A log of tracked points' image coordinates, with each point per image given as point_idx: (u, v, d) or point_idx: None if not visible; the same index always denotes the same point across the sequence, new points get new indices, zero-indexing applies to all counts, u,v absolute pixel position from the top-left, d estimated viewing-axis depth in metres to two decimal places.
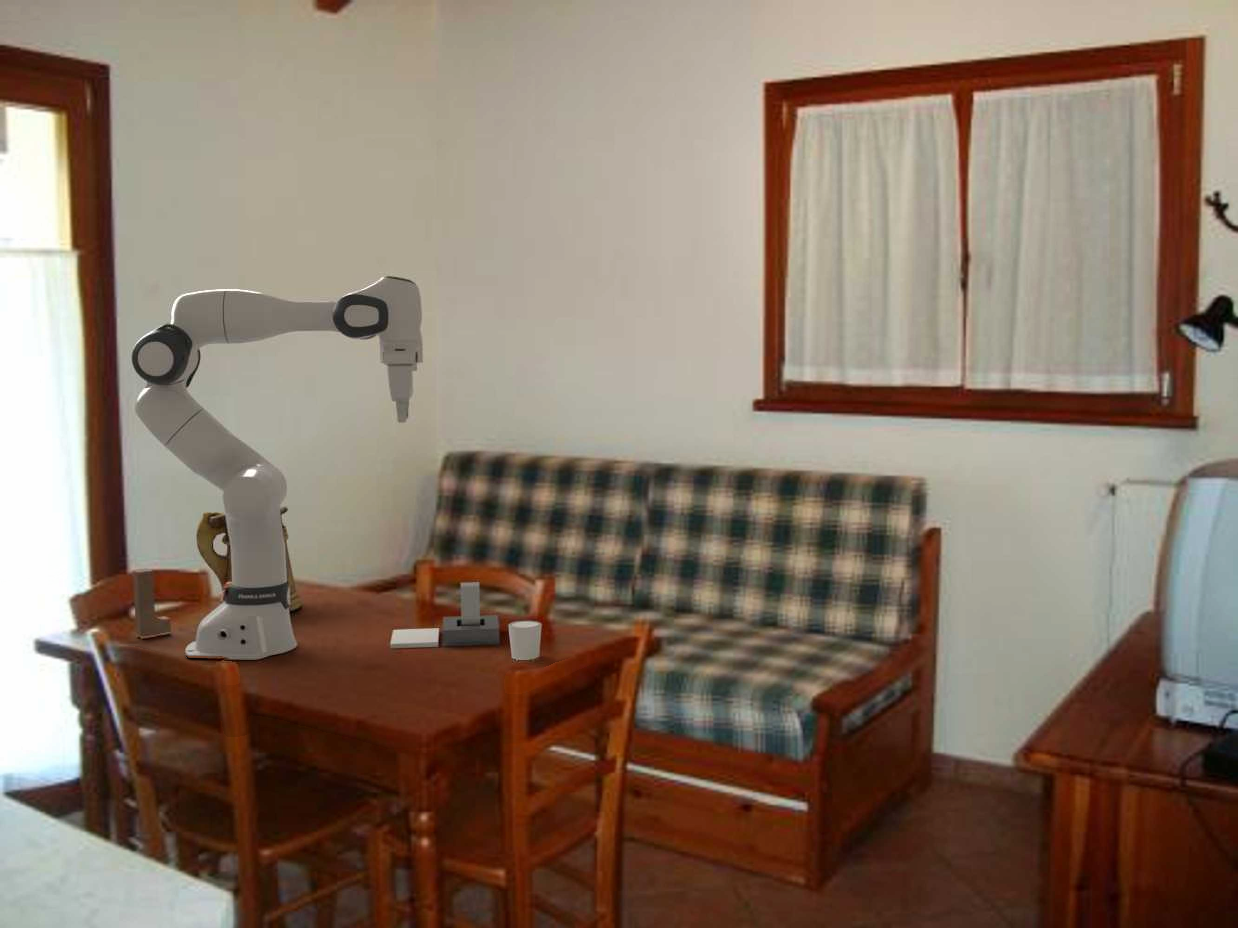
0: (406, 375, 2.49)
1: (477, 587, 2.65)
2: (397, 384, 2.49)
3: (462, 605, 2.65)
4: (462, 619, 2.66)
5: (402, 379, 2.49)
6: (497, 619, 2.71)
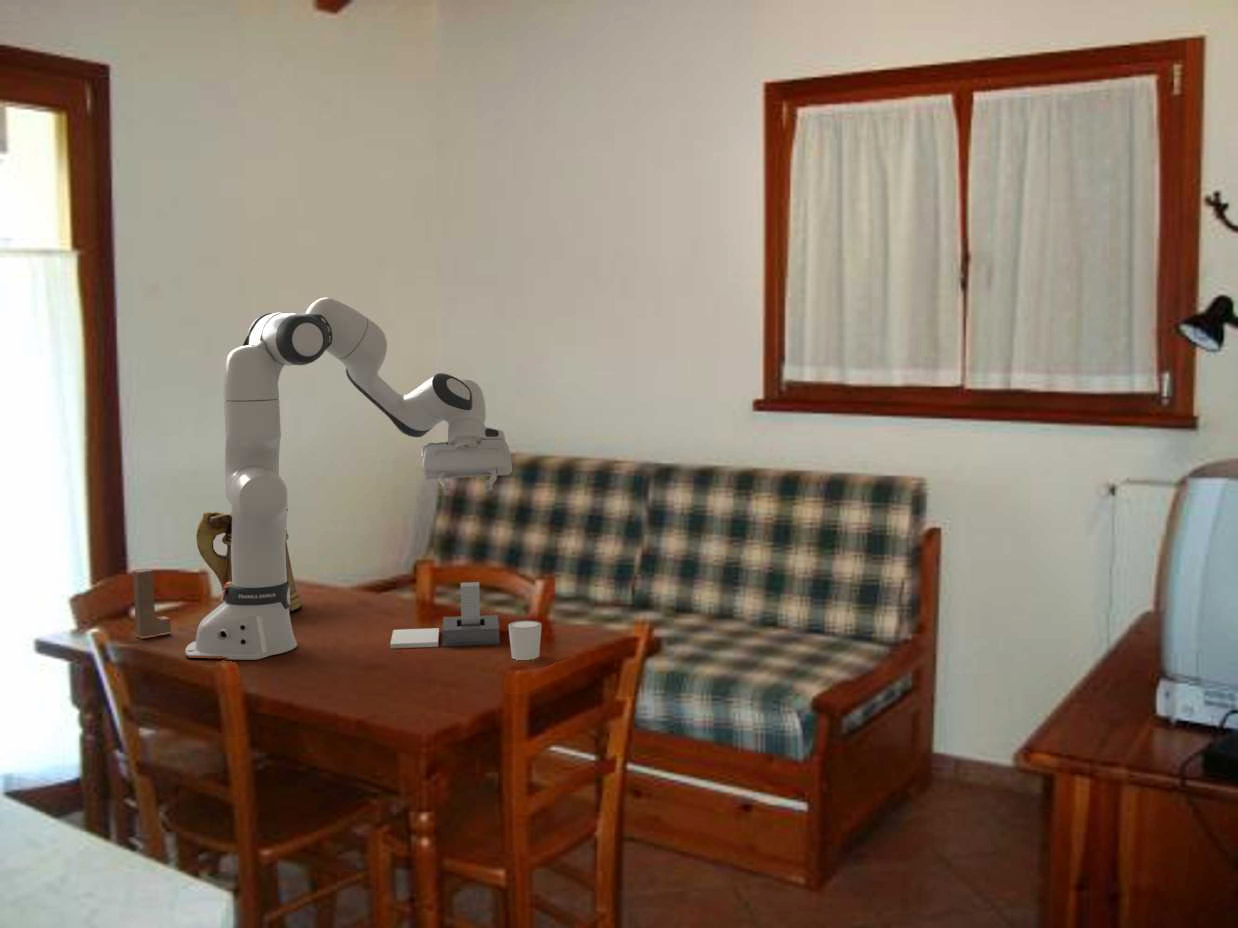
0: None
1: (477, 587, 2.65)
2: None
3: (462, 605, 2.65)
4: (462, 619, 2.66)
5: None
6: (497, 619, 2.71)
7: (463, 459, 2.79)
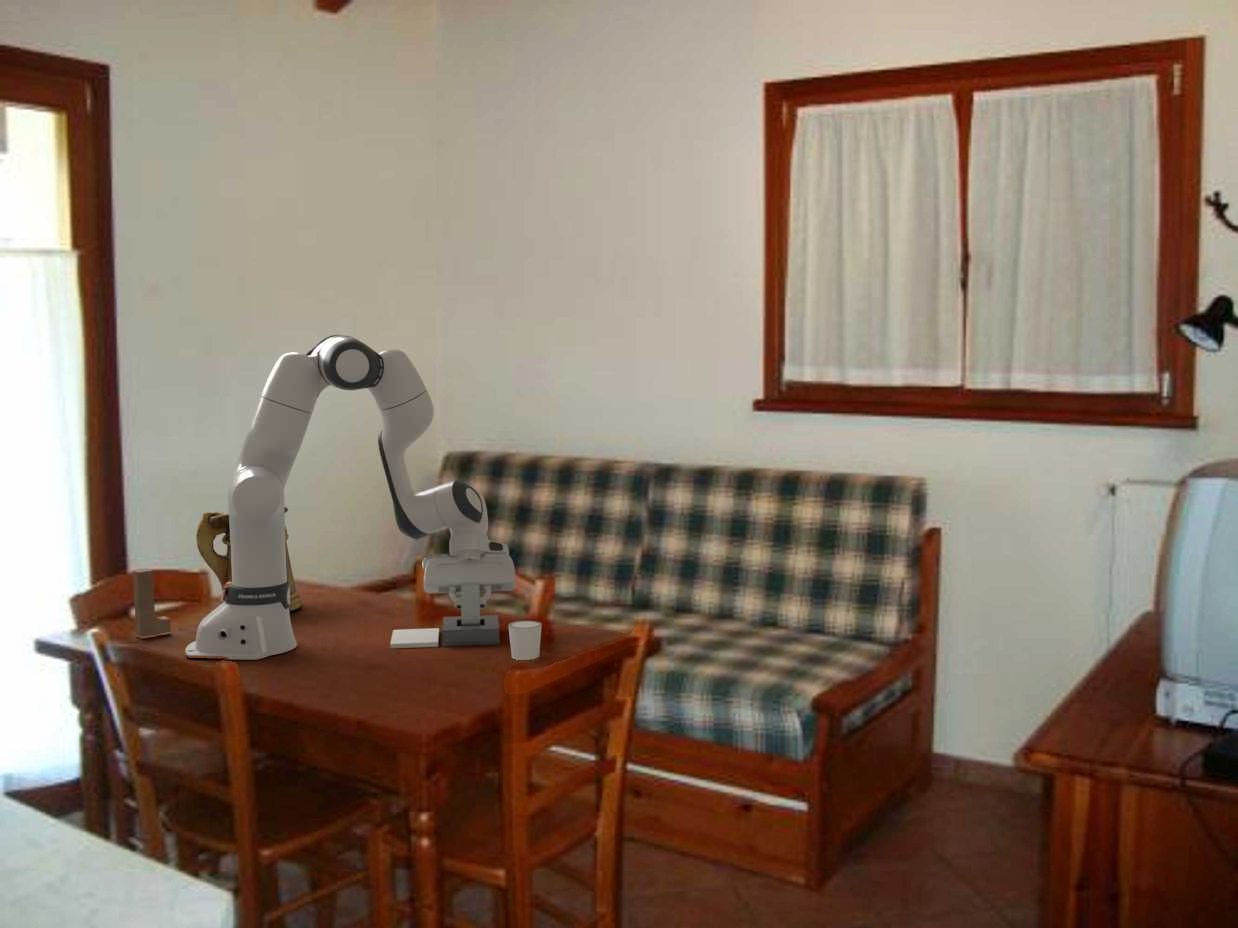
0: None
1: (477, 587, 2.65)
2: None
3: (462, 605, 2.65)
4: (462, 619, 2.66)
5: None
6: (497, 619, 2.71)
7: (466, 573, 2.70)
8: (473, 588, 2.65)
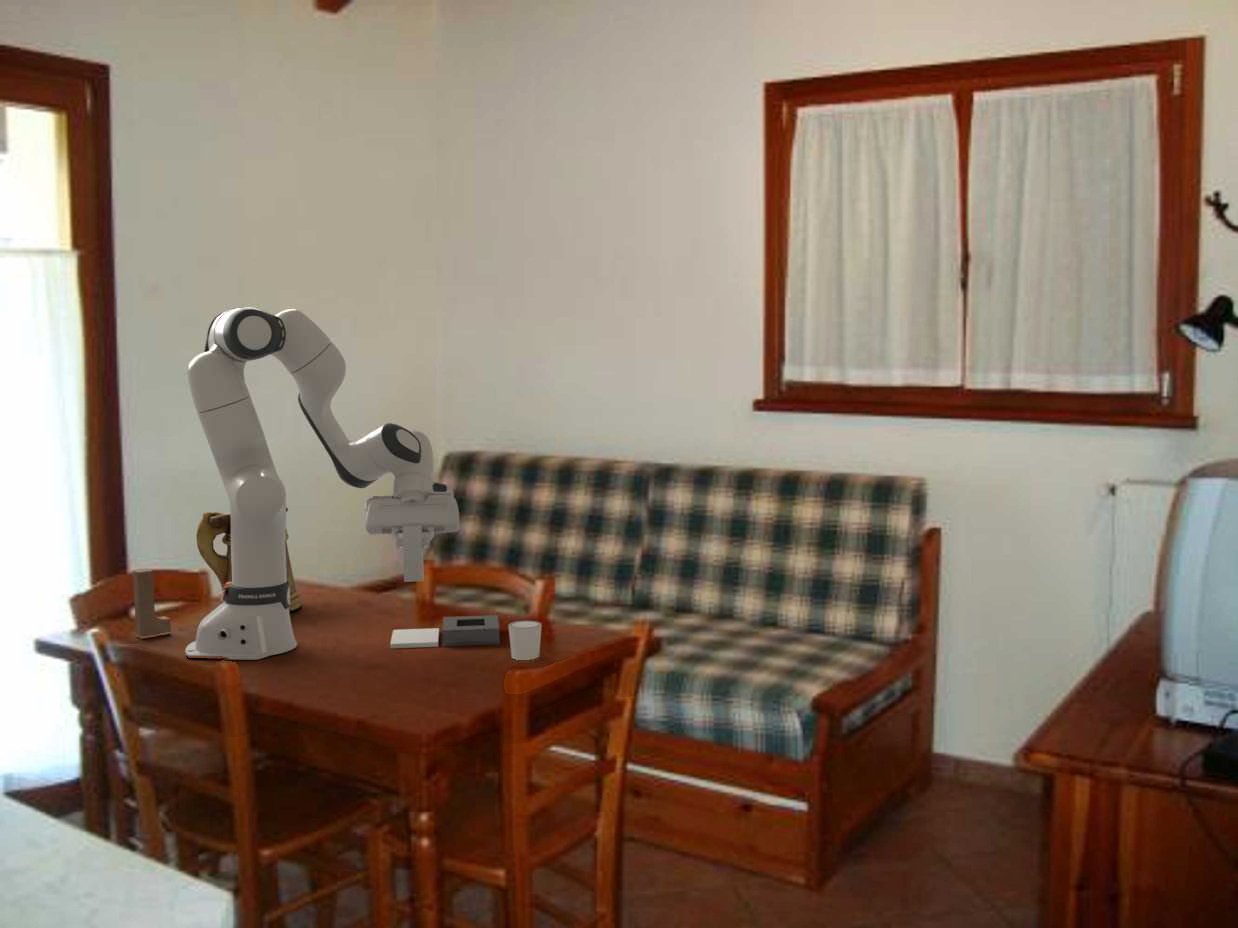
0: None
1: (419, 527, 2.62)
2: None
3: (404, 545, 2.62)
4: (404, 559, 2.63)
5: None
6: (497, 619, 2.71)
7: (409, 514, 2.67)
8: (415, 528, 2.62)
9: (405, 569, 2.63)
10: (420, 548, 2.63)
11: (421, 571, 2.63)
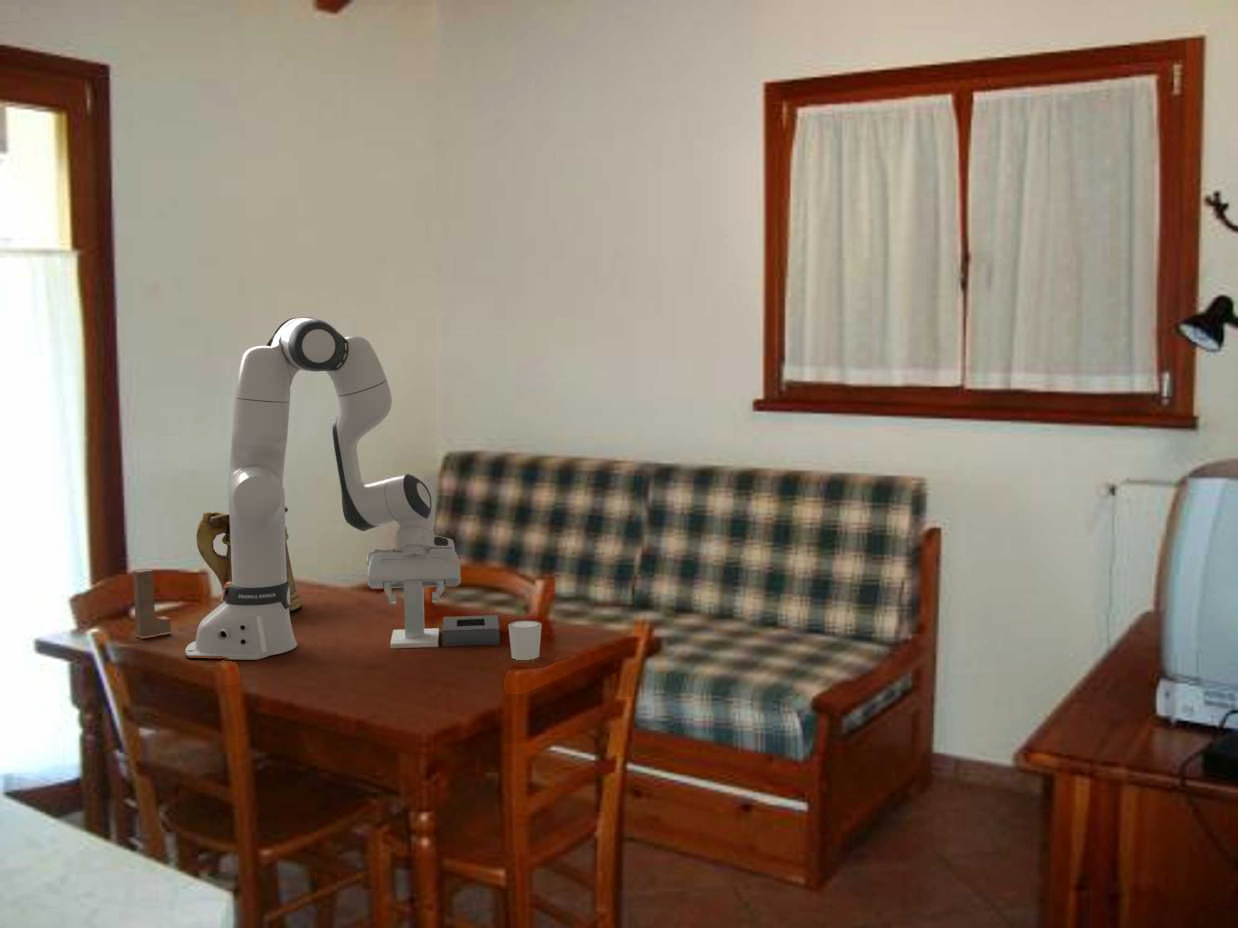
0: None
1: (420, 584, 2.64)
2: None
3: (405, 602, 2.64)
4: (405, 616, 2.64)
5: None
6: (497, 619, 2.71)
7: (410, 568, 2.68)
8: (416, 585, 2.64)
9: (406, 626, 2.64)
10: (421, 605, 2.64)
11: (422, 627, 2.65)
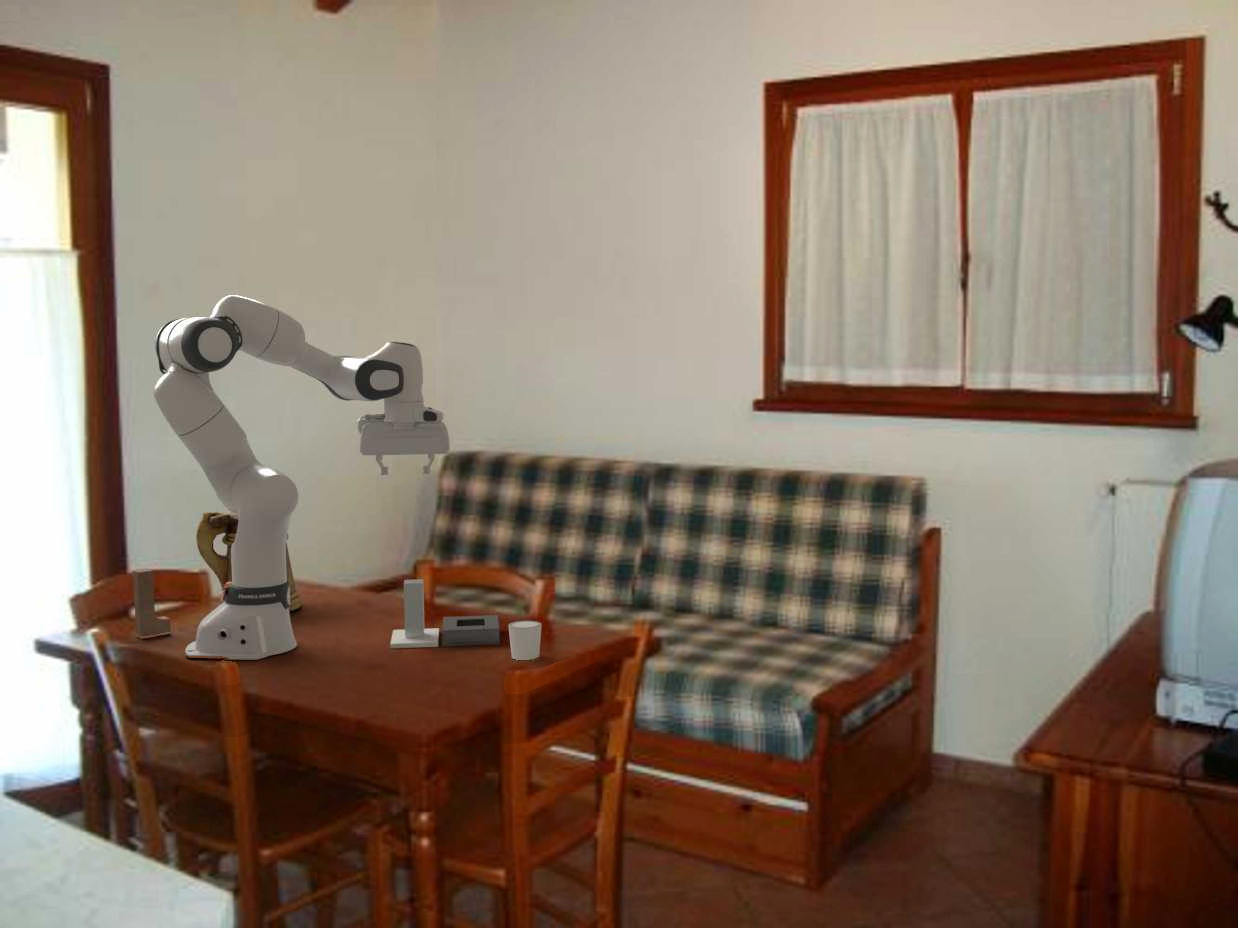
0: None
1: (420, 584, 2.64)
2: (448, 438, 2.80)
3: (405, 602, 2.64)
4: (405, 616, 2.64)
5: None
6: (497, 619, 2.71)
7: (401, 442, 2.78)
8: (416, 585, 2.64)
9: (406, 626, 2.64)
10: (421, 605, 2.64)
11: (422, 627, 2.65)
